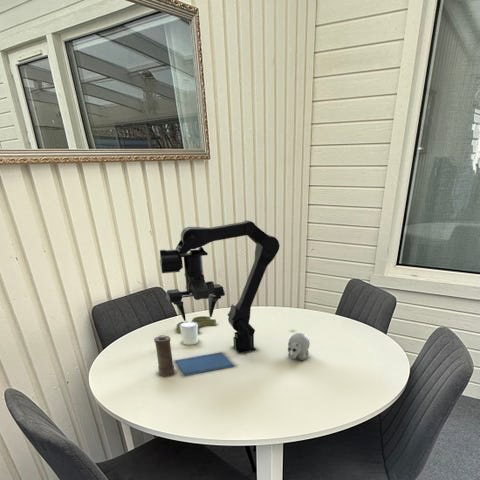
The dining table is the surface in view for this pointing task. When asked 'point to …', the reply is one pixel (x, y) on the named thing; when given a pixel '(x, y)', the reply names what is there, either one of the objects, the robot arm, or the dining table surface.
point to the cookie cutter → (200, 322)
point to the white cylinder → (189, 332)
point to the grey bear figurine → (298, 346)
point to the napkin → (203, 363)
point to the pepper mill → (164, 355)
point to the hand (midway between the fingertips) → (197, 318)
